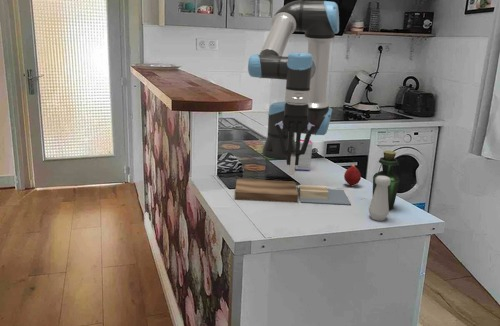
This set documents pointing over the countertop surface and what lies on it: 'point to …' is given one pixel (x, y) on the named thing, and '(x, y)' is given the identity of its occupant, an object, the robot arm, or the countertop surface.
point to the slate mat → (329, 198)
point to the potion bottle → (387, 166)
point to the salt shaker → (380, 199)
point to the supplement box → (304, 158)
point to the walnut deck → (266, 190)
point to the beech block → (313, 192)
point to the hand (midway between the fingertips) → (291, 174)
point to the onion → (352, 175)
